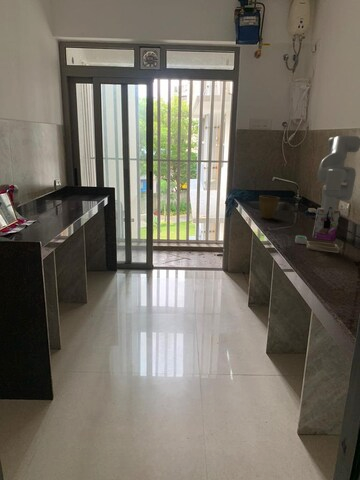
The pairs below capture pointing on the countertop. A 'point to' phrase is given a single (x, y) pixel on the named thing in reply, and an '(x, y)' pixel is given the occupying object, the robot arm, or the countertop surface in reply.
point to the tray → (322, 246)
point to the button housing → (300, 240)
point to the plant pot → (268, 205)
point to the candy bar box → (324, 232)
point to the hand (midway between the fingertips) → (325, 226)
